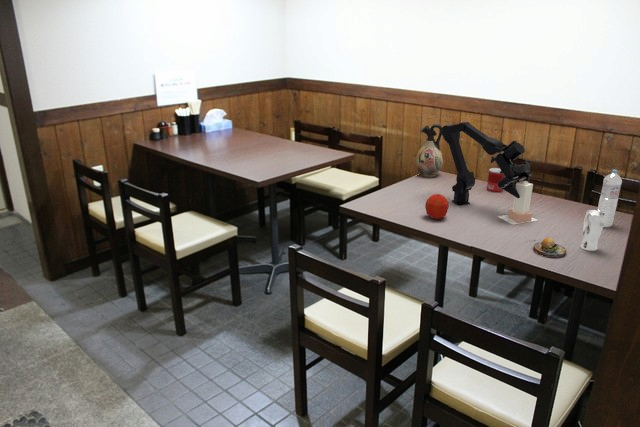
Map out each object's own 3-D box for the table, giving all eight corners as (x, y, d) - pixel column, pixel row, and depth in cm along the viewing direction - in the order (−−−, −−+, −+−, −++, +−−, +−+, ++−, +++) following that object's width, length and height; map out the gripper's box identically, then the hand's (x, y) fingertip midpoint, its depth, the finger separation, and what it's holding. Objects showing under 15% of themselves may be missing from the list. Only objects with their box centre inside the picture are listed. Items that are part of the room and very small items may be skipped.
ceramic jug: (411, 177, 290) (415, 124, 279) (417, 170, 304) (421, 119, 293) (442, 180, 285) (447, 127, 274) (446, 173, 298) (451, 121, 287)
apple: (420, 217, 233) (422, 193, 229) (432, 211, 240) (434, 188, 236) (440, 223, 226) (442, 199, 222) (451, 217, 233) (454, 193, 229)
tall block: (512, 211, 227) (516, 181, 222) (518, 208, 230) (523, 179, 225) (522, 214, 224) (526, 184, 219) (528, 212, 226) (533, 181, 221)
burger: (571, 258, 195) (575, 240, 192) (541, 259, 194) (544, 241, 191) (555, 245, 206) (558, 228, 203) (527, 246, 205) (530, 228, 203)
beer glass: (575, 244, 206) (582, 209, 200) (591, 244, 206) (599, 209, 201) (585, 252, 199) (592, 216, 194) (602, 251, 200) (610, 215, 194)
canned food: (503, 192, 265) (506, 172, 261) (487, 192, 267) (489, 171, 263) (501, 188, 272) (504, 168, 268) (486, 187, 274) (488, 167, 270)
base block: (518, 222, 224) (519, 215, 223) (507, 217, 230) (508, 210, 229) (531, 220, 226) (532, 213, 225) (520, 215, 232) (521, 208, 231)
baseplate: (512, 227, 223) (512, 224, 222) (497, 218, 232) (497, 216, 231) (537, 222, 227) (538, 220, 227) (522, 214, 236) (522, 212, 236)
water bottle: (610, 223, 227) (622, 168, 218) (613, 228, 221) (625, 173, 212) (593, 221, 229) (604, 167, 220) (595, 226, 223) (607, 171, 214)
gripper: (507, 159, 216) (527, 191, 212) (531, 152, 226) (550, 182, 222) (488, 173, 224) (507, 203, 220) (512, 165, 235) (531, 194, 231)
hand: (525, 195), depth 223 cm, fingers open, 9 cm apart
